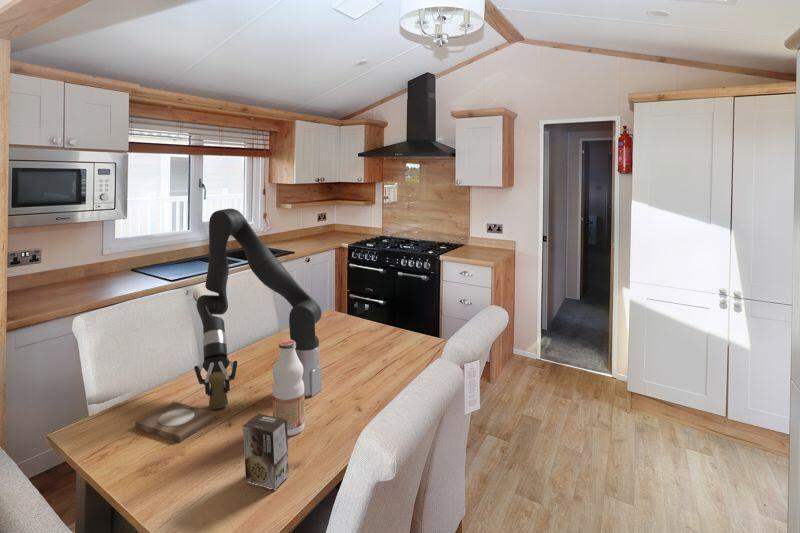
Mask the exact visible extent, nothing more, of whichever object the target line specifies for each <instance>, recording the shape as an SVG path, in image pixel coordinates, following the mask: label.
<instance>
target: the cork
mask: <svg viewBox="0 0 800 533" xmlns="http://www.w3.org/2000/svg"><path fill="white" fill-rule="evenodd" d="M208 380H209V383H210V396H209V399H208V400H209V401H208V402H209V403H208V407H209V408H210V409H212V410H213V409H215V410H219V409H222V408H225V407H226V406H228V404H229V400H228V395H227V394H228V393H226V392H225V374H224V373H222V372H214V373H212V374H210V376H209V378H208Z"/></svg>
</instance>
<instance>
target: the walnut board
mask: <svg viewBox="0 0 800 533" xmlns="http://www.w3.org/2000/svg"><path fill="white" fill-rule="evenodd" d="M216 420H217V412H213V411H209V410H207V409H202V408H198V407H195V406H191V405H188V404H184V403H181V402H178V401H172V402H170V403H169V404H167V405H165V406H163V407H161V408H159V409H157V410H155V411H153V412H151V413H150V414H148V415H146V416H144V417H142V418H140V419H138V420H136V421H135V422H134V424H135V429H137V430H140V431H144V432H147V433H150V434H153V435H156V436H159V437H163V438H166V439H169V440H171V441H175V442H178V443H181V442H183V441H185V440H186V439H188V438H190V437H191V436H192V435H194V434H196V433H198V432H199V431H200V430H202V429H203V428H205V427H206V426H208V425H210V424H211V423H213V422H214V421H216Z"/></svg>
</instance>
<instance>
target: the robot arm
mask: <svg viewBox="0 0 800 533" xmlns="http://www.w3.org/2000/svg"><path fill="white" fill-rule="evenodd" d="M230 237H233V238H234V239H235V241H236V242H237V243H238V244H239V245H240V246H241V247H242V249H243V252H244V253H245V258H246V260H247V263H248V267H249V268H250V270H251V271H252V273H253V274H254V275H255V276H256V277H257V278H258V280H259V281H260V282H261V283H262V284H263V285H264V286H266V287H267V288H269V289H270V290H272V291H273V292H275V293H277V294H279V295H280V296H281V297H283V298H284V299H285V300H286V301H287V302H288V303H289V305H290V306H291V307H292V309H291V310H290V312H289V314H288V315H289V317H288V324H289V325H288V326H289V327H288V328H289V338H290V339H289V340H294V341H295V342H296V348H295V351H296V353H297V356H298V358H299V360H300V362H301V363H302V365H303V370H304V371H303V376H302V380H303V382H304V398H306V397H315V396H316V395H317V394H318V393H319V392H321V391H322V387H323V386H322V365H321V364H320V339H319V337H318V336H317V335H316V324H317V323H318V322H319V321H320V320H321V318H322V315H323V314H322V309H321V306H320V304H319V303H318V302H317V301H316V300H315V299H313V297H312V296H311V295H310V294H308V293H307V291H305V289H303V287H301V286H300V284H299V283H298V282H297V281H296V279H294V277H293V276H292V275H291V274H290V272H289V271H287V269H286V268H285V267H284V265H283V264H282V263H281V262H280V261H279V259H278V258H277V257H276V255H274V254H273V253H272V251H271V250H270V249H269V248H268V247H267V245H266V244H265V243H264V242H263V241H262V239H260V237H259V236H258V234H257V233H256V232H255V230H254V229H253V227H252V225H250V223H249V222H248V220H247V219H246V217H245V216H244V215H243V214H242V212H241V211H239V210H237V209H236V208H224V209H219V210H216V211H214V212H213V213H212V214H211V215H210V217H209V221H208V239H209V240H208V243H209V244H208V249H209V251H208V252H209V253H208V255H209V256H208V266H207V273H206V279H205V288H206V289H207V291H210V292H213V293H216V294H218V295H215V294H214V295H213V294H202V295H200V296H199V297H198V298H197V300H196V310H197V312H198V315H199V317H200V320H201V323H202V331H203V332H202V333H203V334H202V335H203V339H202V349H203V363H202V364H201V365H195V366H194V367H193V368H194V369H193V370H194V373H195V375H196V378H197V381H198V384H199V385H204V391H205V395H207V397H210V386H211V384H210V383H209V380H208V378H209V376H210V374H212V373H214V372H222V373H224V374H225V381H224V385H225V392H226V394H228V393H229V391H230V390H231V387H230V381H234V380H235V378H236V373H237V368H238V361H237V360H234V361H232V360H231V361H230V360H229V357H228V347H227V346H228V344H227V337H226V330H225V327H226V326H225V321H224V319H223V318H222V317H219V316H218V315H224V314H226V312H228V309H229V301H228V297H227V283H228V278H229V270H230V268H229V266H230V265H229V261H228V257H227V245H228V241H229V238H230ZM216 315H217V316H216ZM229 366H230V369H232V370H231V374H230V375H229V374H228V371H227V368H228V367H229ZM203 369H204V371H205V372H207V373H206V376H205V379H204V378H203V376H202V374H201V373H202V372H203Z"/></svg>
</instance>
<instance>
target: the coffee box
mask: <svg viewBox="0 0 800 533" xmlns="http://www.w3.org/2000/svg"><path fill="white" fill-rule="evenodd" d="M242 434H243V435H242V436H243V452H244V468H245V482H246V481H247V482H251V483H254V484H258V485H262V486H266V487H269V488H272V489H276V488H277V487H278V486H279V485H280V484H281V483H282V482H283V481H284V480H285V479H286V478H287V477H288V475H289V476H290V474H289V472H290V470H289V441H288V440H289V439H288V437H289V436H288V435H287V420H286V419H282V418H277V417H273V415H272V416H271V415H267V414H262V413H257V414H255V415H254V416H253V417H252V418H250V419H249V420H248V421H247V422H245V423H244V424H243V425H242ZM288 478H289V477H288ZM288 478H287V479H288ZM287 479H286V480H287ZM286 480H285V481H286ZM285 481H284V482H285ZM284 482H283V483H284ZM283 483H282V484H283ZM282 484H281V485H282ZM281 485H280V486H281ZM280 486H279V487H280Z"/></svg>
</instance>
